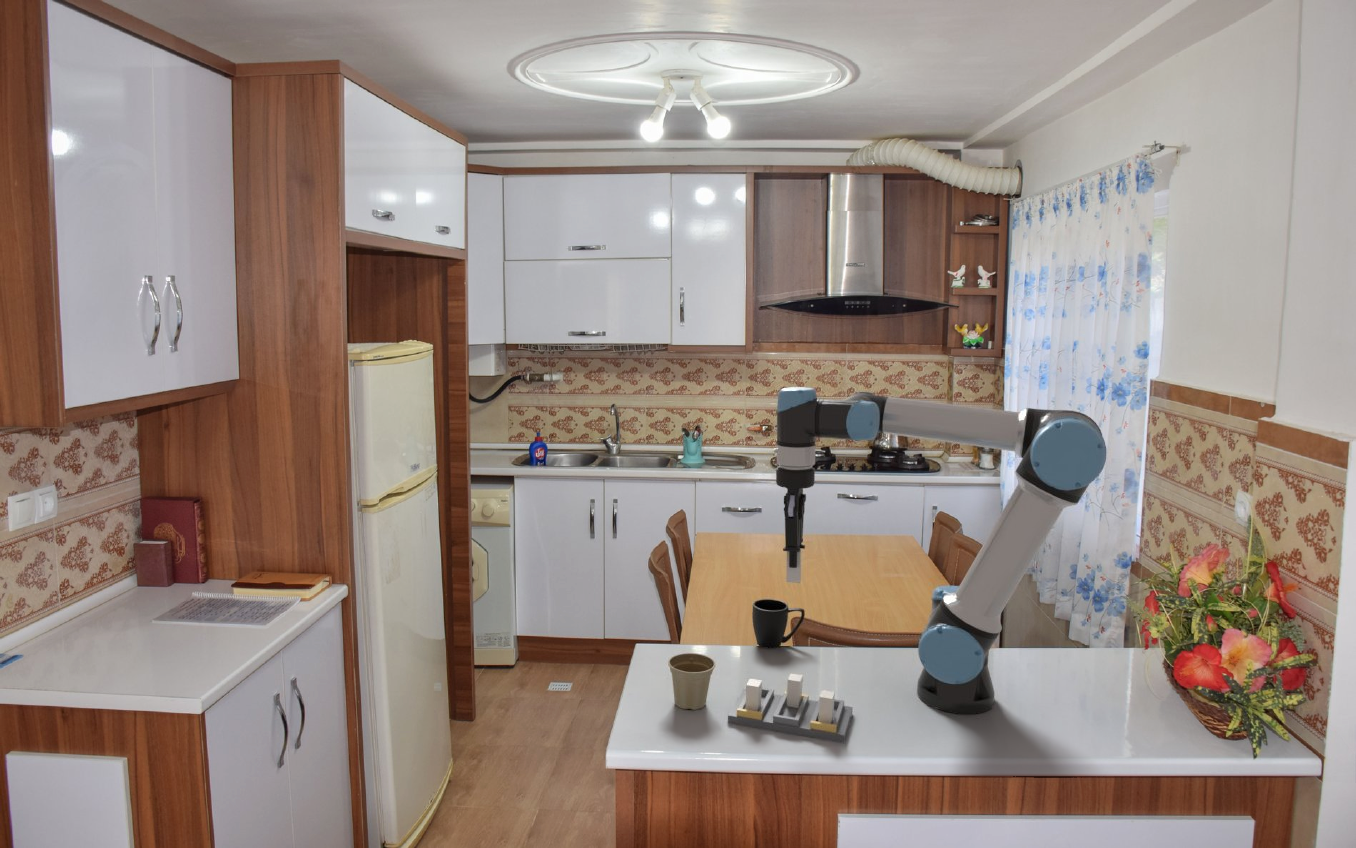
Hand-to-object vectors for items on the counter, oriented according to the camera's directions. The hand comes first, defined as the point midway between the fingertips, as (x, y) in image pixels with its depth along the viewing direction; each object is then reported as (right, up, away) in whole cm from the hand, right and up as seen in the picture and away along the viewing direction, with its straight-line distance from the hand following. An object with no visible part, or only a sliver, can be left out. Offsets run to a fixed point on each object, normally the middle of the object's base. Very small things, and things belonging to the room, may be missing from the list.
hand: (793, 581), depth 182 cm
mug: (0, -20, +29) cm, 35 cm away
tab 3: (+5, -24, -11) cm, 27 cm away
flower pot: (-21, -24, -2) cm, 32 cm away
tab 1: (-9, -23, -7) cm, 26 cm away
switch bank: (-1, -25, -7) cm, 26 cm away
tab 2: (0, -23, -4) cm, 24 cm away
